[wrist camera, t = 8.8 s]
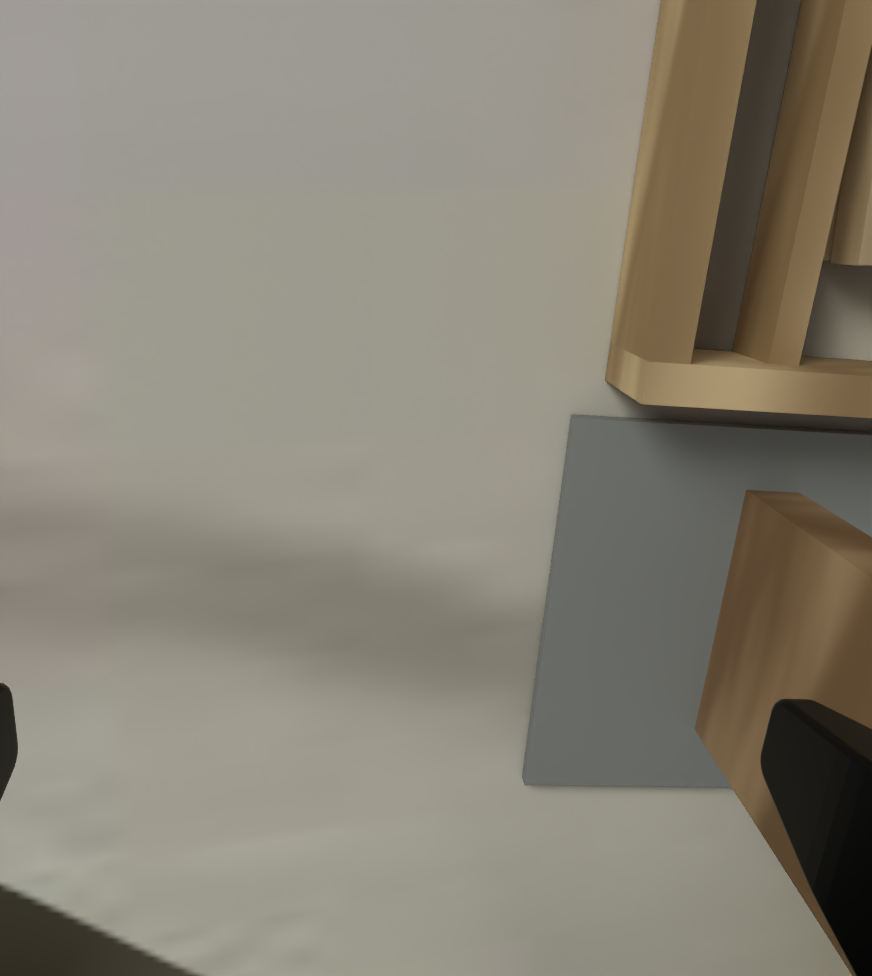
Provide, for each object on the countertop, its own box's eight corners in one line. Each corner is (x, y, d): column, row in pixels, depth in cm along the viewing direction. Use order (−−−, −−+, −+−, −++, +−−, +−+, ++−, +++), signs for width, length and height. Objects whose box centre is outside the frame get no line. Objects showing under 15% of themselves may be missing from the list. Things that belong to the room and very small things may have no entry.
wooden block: (799, 492, 22) (1123, 694, 12) (743, 730, 24) (976, 1047, 15) (745, 489, 22) (1033, 692, 12) (694, 729, 24) (899, 1050, 15)
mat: (975, 438, 22) (986, 441, 22) (870, 780, 26) (877, 789, 26) (571, 414, 21) (574, 417, 21) (521, 776, 25) (524, 785, 24)
